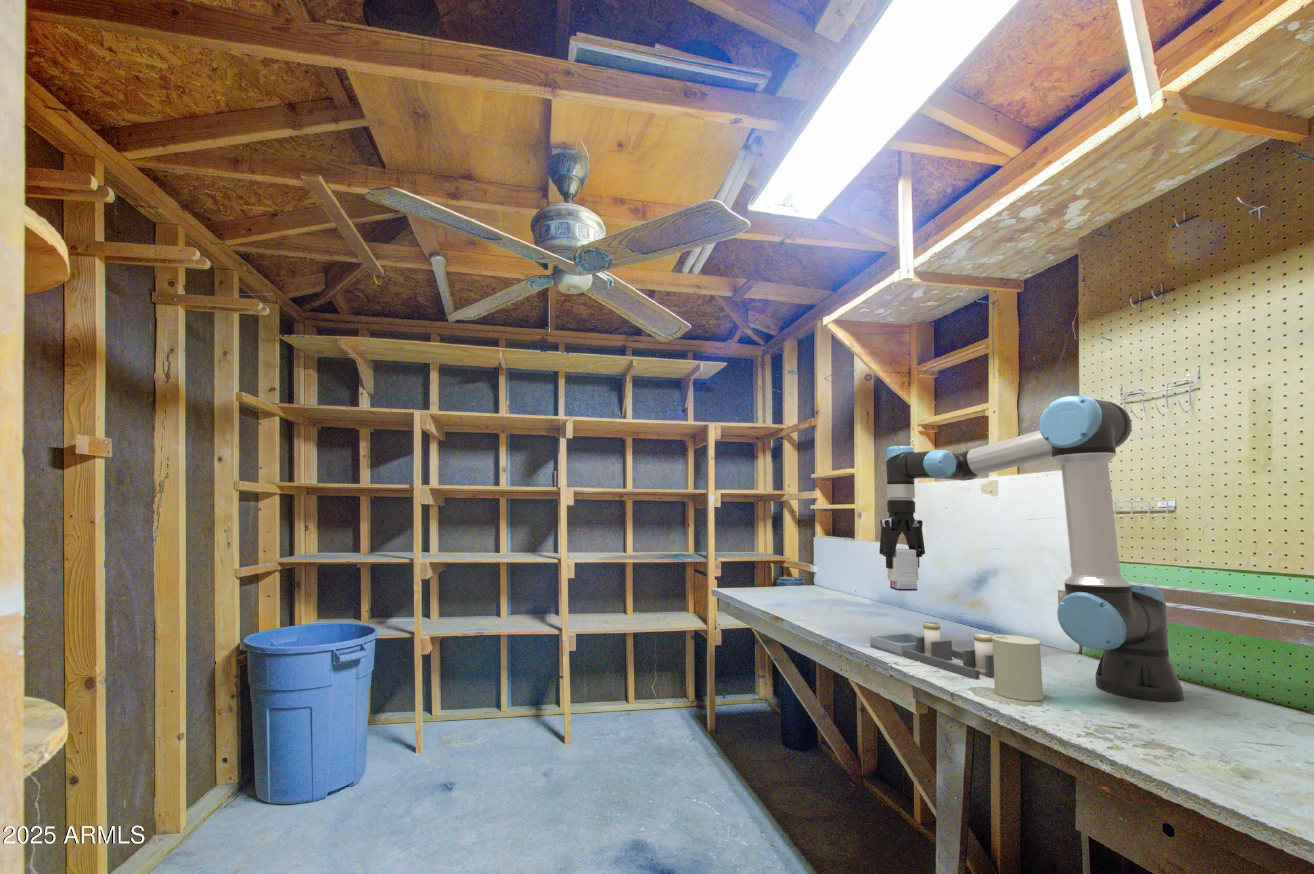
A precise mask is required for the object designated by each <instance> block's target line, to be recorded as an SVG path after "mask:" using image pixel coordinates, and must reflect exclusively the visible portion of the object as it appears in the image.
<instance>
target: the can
mask: <svg viewBox="0 0 1314 874" xmlns="http://www.w3.org/2000/svg"><path fill="white" fill-rule="evenodd" d="M992 643H993V659H994V677H993V678H994V681H993V682H994V689H993V691H994V693H995V694H997V695H999V696H1001V697H1003V698H1007V699H1011V700H1017V701H1024V702H1040V701H1043V700H1044V699H1045V696H1044V689H1043V676H1042V675H1043V674H1042V656H1041V641H1040V640H1038V639H1036V638H1032V637H1026V636H1023V635H1021V636H1020V635H1014V634H1013V635H1012V634H1011V635H1010V634H998V635H997V634H996V635H995V634H994V635H992Z"/></svg>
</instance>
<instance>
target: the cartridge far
mask: <svg viewBox="0 0 1314 874" xmlns="http://www.w3.org/2000/svg"><path fill="white" fill-rule="evenodd" d="M922 627H923V636H924V648H925V652H924V654H926V655H929V656H931V641H942V640H941V623H939V622H935V621H924V622H922Z"/></svg>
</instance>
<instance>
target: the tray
mask: <svg viewBox="0 0 1314 874" xmlns="http://www.w3.org/2000/svg"><path fill="white" fill-rule="evenodd" d="M869 637H870V639H869V640H870V641H869V643H870V644H869V645H870V647H869V648H872V649H876V650H879V651H882V652H885V653H888V654H892V655H895V656H897V657H902V658H903V657H904V649H909V650H912V651H915V652H916V637H921V636H919V635H915V634H912V633H908V632H907V633H894V634H884V635H883V634H881V635H871V636H870V635H869Z"/></svg>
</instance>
